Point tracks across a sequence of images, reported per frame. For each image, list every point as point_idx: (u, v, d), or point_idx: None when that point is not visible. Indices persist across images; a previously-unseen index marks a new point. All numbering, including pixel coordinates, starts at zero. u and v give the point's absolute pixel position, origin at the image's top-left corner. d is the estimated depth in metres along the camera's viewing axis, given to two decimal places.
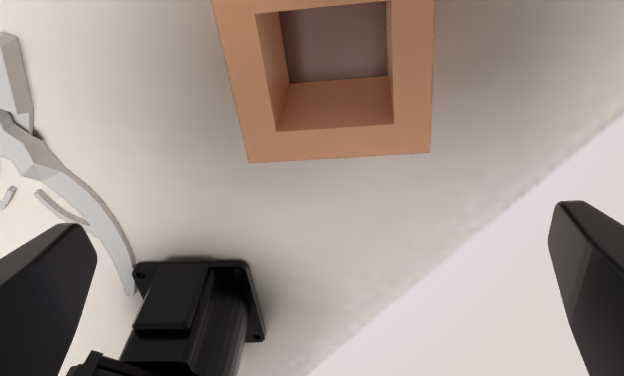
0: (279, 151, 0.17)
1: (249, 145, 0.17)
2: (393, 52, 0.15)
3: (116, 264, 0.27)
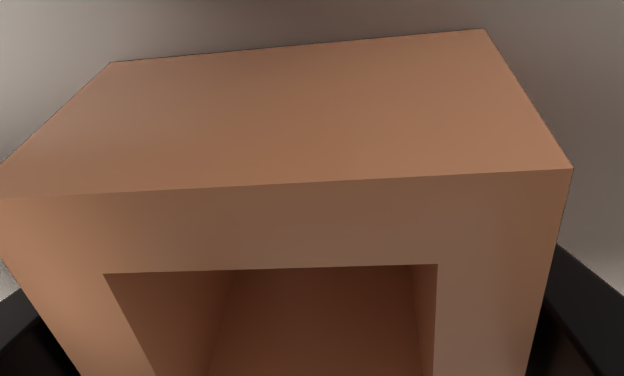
0: None
1: None
2: (436, 348, 0.06)
3: None
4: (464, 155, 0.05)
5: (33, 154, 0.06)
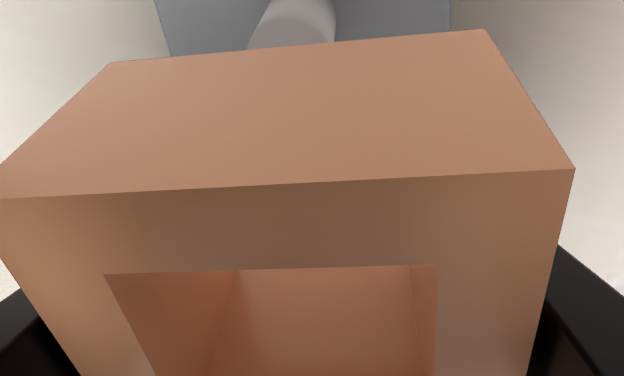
0: None
1: None
2: (437, 349, 0.06)
3: None
4: (465, 155, 0.05)
5: (33, 154, 0.06)
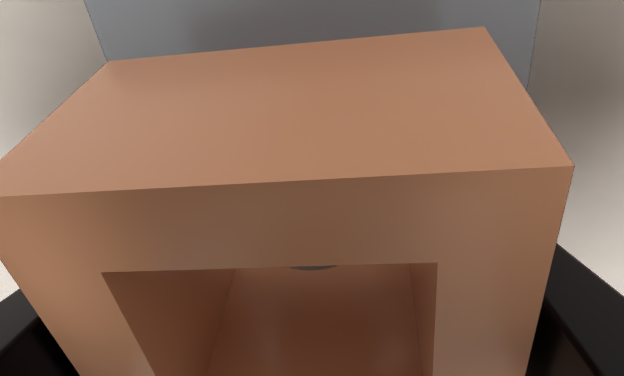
0: None
1: None
2: (436, 348, 0.06)
3: None
4: (464, 153, 0.05)
5: (32, 152, 0.06)
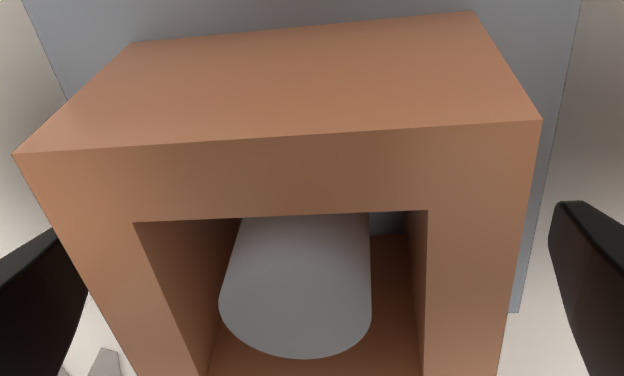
0: None
1: None
2: (427, 292, 0.07)
3: None
4: (450, 111, 0.06)
5: (70, 117, 0.07)
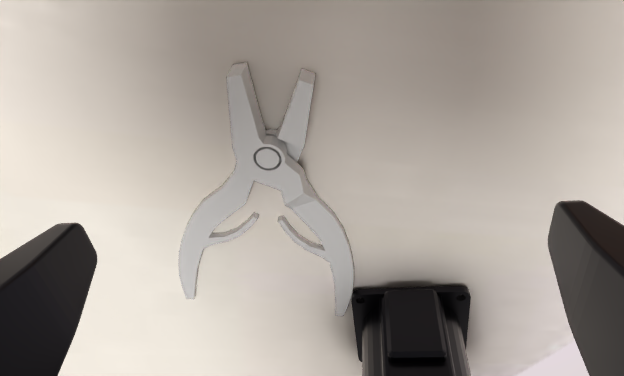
0: None
1: None
2: None
3: (337, 286, 0.27)
4: None
5: None
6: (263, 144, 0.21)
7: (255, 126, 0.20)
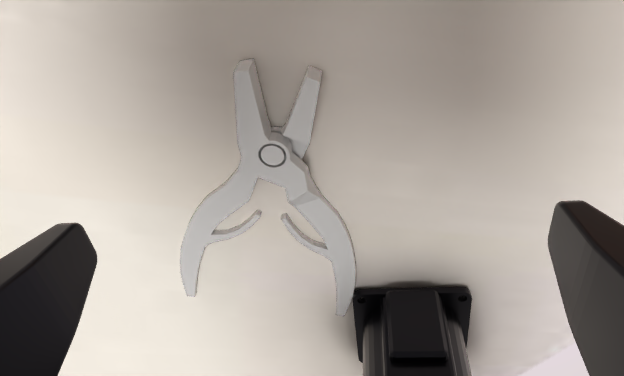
0: None
1: None
2: None
3: (338, 285, 0.27)
4: None
5: None
6: (268, 141, 0.21)
7: (260, 122, 0.20)
